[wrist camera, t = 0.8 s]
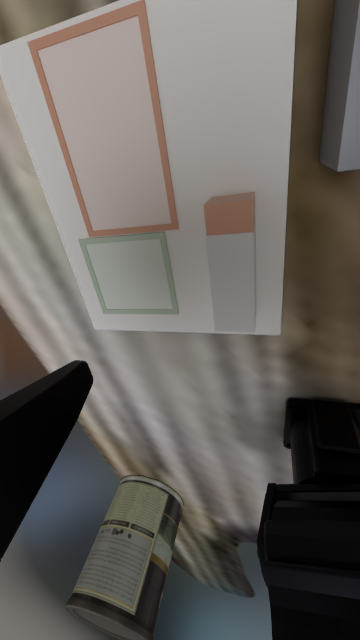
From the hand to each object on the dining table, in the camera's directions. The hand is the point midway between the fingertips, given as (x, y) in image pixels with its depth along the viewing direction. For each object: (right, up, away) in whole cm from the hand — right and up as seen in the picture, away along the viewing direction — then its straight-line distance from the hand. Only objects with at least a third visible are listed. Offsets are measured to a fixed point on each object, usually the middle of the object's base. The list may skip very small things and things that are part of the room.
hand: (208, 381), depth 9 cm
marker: (+3, +6, +9) cm, 11 cm away
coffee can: (-5, -24, +33) cm, 41 cm away
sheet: (-2, +9, +9) cm, 13 cm away
